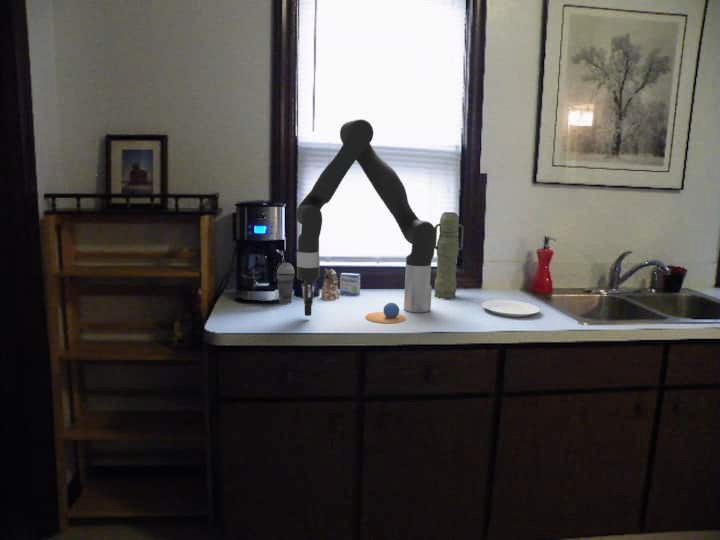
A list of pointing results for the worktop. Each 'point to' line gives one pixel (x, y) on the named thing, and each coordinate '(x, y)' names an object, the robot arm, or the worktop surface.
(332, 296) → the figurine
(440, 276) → the thermos
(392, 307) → the ball
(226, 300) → the worktop surface
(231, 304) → the worktop surface
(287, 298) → the beverage cup
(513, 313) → the plate
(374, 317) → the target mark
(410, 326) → the worktop surface
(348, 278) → the medicine box
